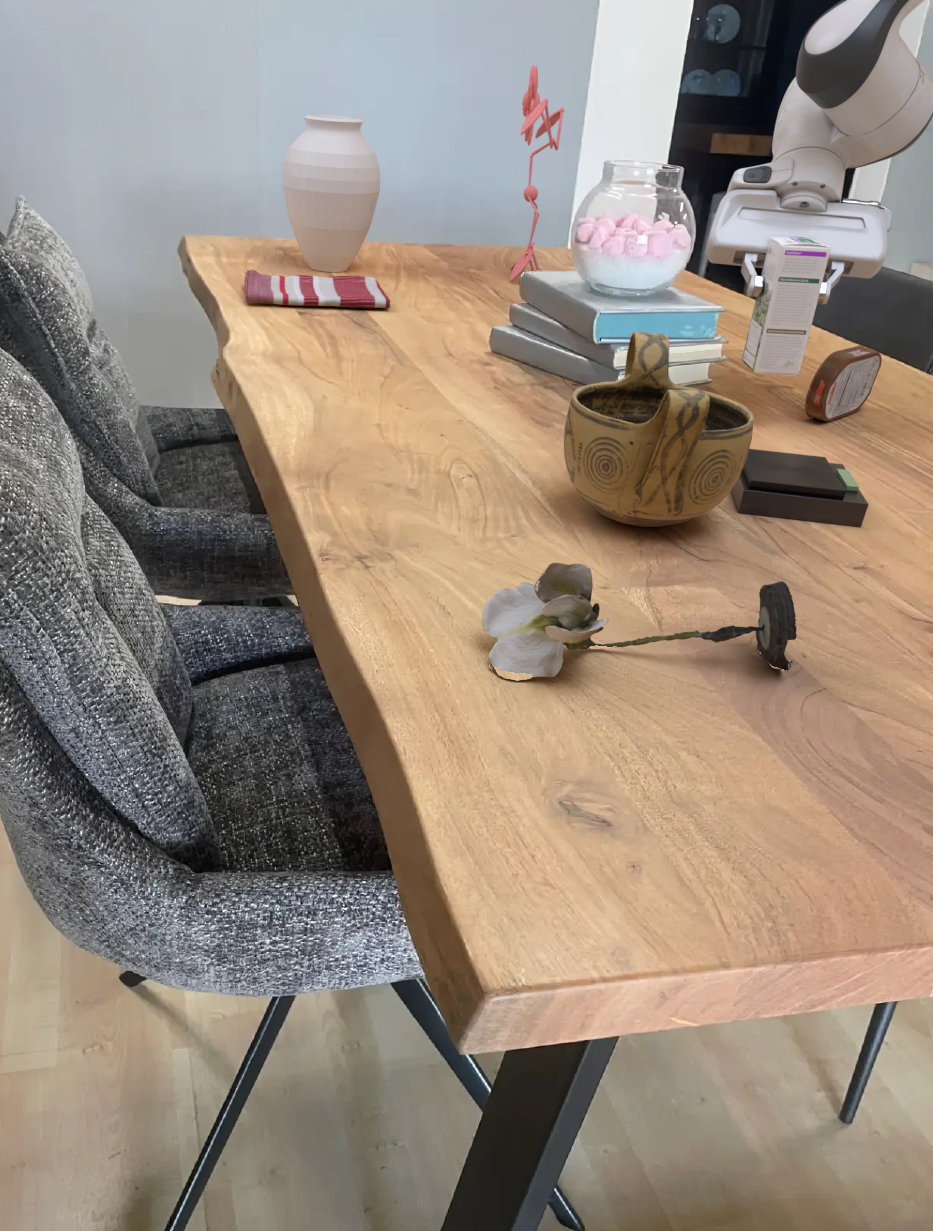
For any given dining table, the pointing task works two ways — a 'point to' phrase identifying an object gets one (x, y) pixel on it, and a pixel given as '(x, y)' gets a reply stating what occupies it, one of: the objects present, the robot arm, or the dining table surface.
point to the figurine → (532, 113)
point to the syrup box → (785, 305)
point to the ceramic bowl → (653, 442)
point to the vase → (331, 190)
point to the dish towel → (315, 290)
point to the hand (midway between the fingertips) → (787, 297)
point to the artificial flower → (600, 622)
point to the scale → (798, 489)
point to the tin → (842, 383)
